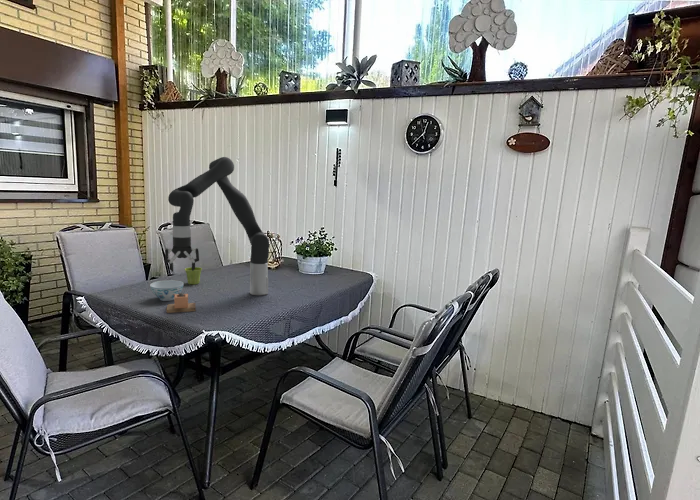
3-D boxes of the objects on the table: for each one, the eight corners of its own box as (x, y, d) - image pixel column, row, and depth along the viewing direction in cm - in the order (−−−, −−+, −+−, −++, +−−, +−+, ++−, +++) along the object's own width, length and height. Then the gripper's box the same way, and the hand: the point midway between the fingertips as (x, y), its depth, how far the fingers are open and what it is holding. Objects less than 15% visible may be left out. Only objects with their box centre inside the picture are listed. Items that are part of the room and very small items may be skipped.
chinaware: (174, 293, 202) (174, 278, 201) (189, 299, 192) (189, 284, 191) (145, 298, 190) (144, 283, 189) (159, 305, 181) (158, 289, 180)
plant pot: (190, 286, 216) (190, 271, 214) (181, 283, 221) (181, 268, 220) (205, 283, 223) (205, 269, 222) (196, 280, 229) (196, 266, 227)
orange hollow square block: (188, 303, 181) (188, 293, 180) (187, 307, 176) (187, 297, 175) (175, 304, 179) (174, 294, 178) (174, 308, 174) (174, 297, 173)
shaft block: (195, 305, 183) (195, 290, 182) (195, 311, 176) (195, 295, 175) (167, 307, 179) (167, 291, 178) (166, 312, 172) (166, 296, 170)
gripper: (198, 234, 179) (199, 268, 181) (164, 234, 173) (165, 269, 176) (198, 236, 172) (199, 272, 174) (163, 236, 166) (164, 273, 169)
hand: (182, 270), depth 175 cm, fingers open, 8 cm apart
